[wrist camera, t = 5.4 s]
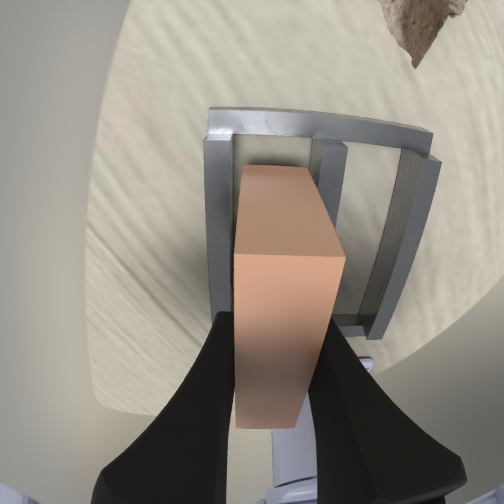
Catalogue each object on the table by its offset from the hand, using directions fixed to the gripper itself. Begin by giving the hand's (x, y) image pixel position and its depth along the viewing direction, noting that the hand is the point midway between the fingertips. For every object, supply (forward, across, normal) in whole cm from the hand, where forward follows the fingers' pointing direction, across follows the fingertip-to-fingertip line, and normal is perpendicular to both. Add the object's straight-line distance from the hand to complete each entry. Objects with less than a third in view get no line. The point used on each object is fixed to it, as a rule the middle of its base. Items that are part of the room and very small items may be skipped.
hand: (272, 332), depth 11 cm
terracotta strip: (+4, 0, 0) cm, 4 cm away
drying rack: (+6, -2, 0) cm, 7 cm away
